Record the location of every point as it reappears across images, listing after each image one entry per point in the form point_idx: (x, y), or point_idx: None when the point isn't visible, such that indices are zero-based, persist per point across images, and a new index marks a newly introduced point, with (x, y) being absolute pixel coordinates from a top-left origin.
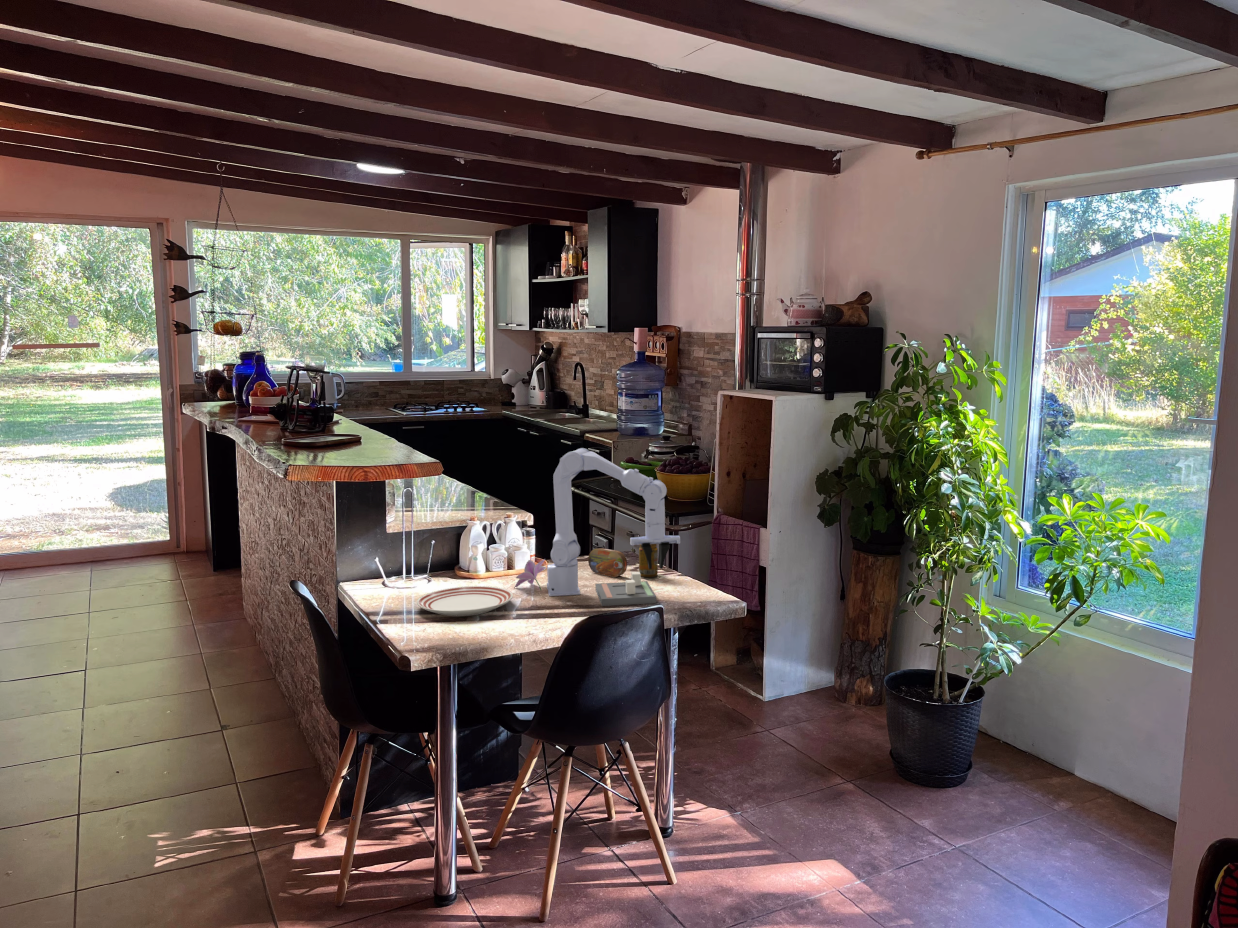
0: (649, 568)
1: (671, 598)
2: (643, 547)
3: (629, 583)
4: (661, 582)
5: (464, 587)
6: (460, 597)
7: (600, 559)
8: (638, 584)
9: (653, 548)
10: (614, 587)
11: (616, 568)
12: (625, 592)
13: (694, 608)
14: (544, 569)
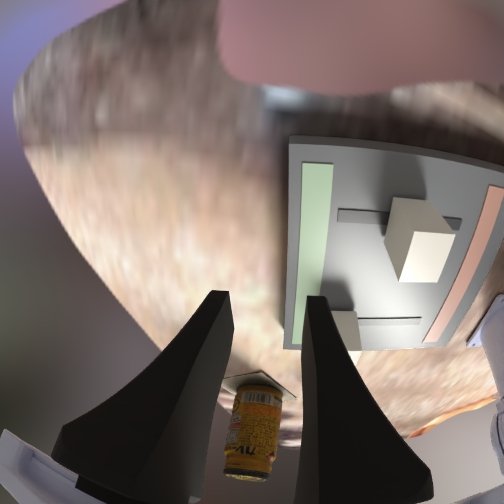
0: (326, 299)
1: (208, 195)
2: (432, 497)
3: (441, 230)
4: (231, 355)
5: None
6: None
7: None
8: (333, 313)
9: (235, 455)
10: (421, 308)
11: None
12: None
13: (122, 41)
14: (495, 394)
